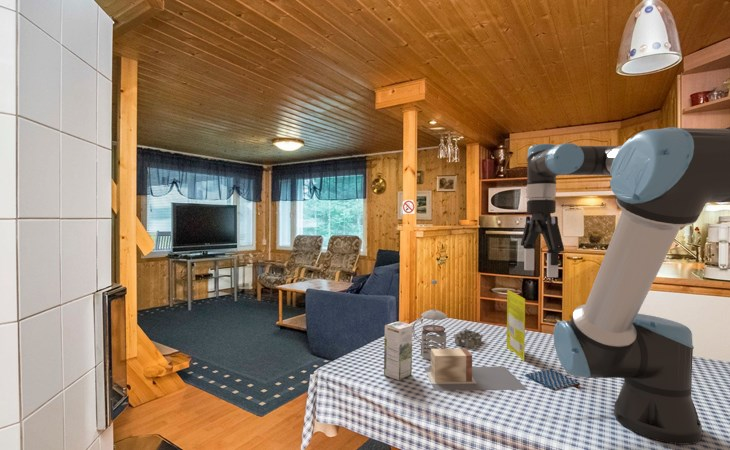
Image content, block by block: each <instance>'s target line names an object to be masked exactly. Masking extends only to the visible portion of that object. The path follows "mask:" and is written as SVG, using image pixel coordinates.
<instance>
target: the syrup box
mask: <svg viewBox="0 0 730 450" xmlns="http://www.w3.org/2000/svg"><path fill="white" fill-rule="evenodd" d="M412 328H413V329H414V327H413V324H409V323H407V322H402V321H395V322H391V323H388V324H385V325H384V343H383V344H384V346H383V347H384V350H383V352H384V355H383V375H384V376H386V377H389V378H391V379H394V380H397V381H401V380H403V379H405V378H408V377H409V376H412V370H413V369H412V368H413V367H412V366H413V362H412V361H413V330H412Z"/></svg>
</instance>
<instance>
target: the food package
mask: <svg viewBox="0 0 730 450" xmlns="http://www.w3.org/2000/svg"><path fill="white" fill-rule="evenodd" d="M506 298H507V300H506V301H507V302H506V303H507V304H506V347H507V349H508V350H509V351H510V352H514V354H516V355H517V356H518V357H519V358H520V359H521V360H522V361H523V362H525V345H526V344H525V343H526V342H525V341H526V339H525V336H526V335H525V334H526V333H525V332H526V331H525V330H526V298H524V297H523V296H521V295H519V294H517V293H515V292H513V291H512V290H509V289H507V294H506Z"/></svg>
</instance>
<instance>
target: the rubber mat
mask: <svg viewBox="0 0 730 450" xmlns="http://www.w3.org/2000/svg"><path fill="white" fill-rule="evenodd" d="M423 368H424V371H425V373H426V374H427V377H428V379H429V382H430V384H431V386H432V388H433V390H434V391H436V392H437V391H440V392H442V391H447V392H448V391H450V392H451V391H513V390H514V391H521V390H522V391H526V390H527V391H528V387H526V386H525V385H524V384H523V383H522V382H521V381H520V380H519V379H518V378H517V377H516V376H515V375H514V374H513V373H512V372H511V371H510V370H509V369H508V368H507V367H506V366H472V382H435V381H434V379H433V377H432V375H431V366H425V367H423Z"/></svg>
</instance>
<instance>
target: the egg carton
mask: <svg viewBox="0 0 730 450" xmlns="http://www.w3.org/2000/svg"><path fill="white" fill-rule="evenodd" d="M483 337H484V334H483V333H482V334H480V333H479V332H476V331H473V330H470V329H467V328H465V329H464V330H462V331H459V332H458V333H456V334H455V333H454V334H453V338H454V344H455V345H456V346H458V347H460V346H462V347H463V346H464V347H465V349H469V348H472V349H473V348H474V347H475V346H478V345H479V344H481V343H482V338H483Z"/></svg>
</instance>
